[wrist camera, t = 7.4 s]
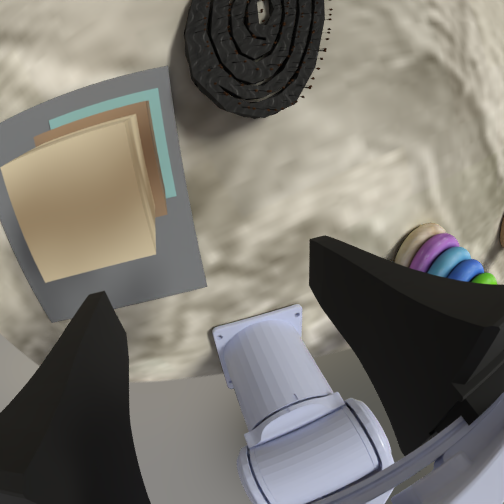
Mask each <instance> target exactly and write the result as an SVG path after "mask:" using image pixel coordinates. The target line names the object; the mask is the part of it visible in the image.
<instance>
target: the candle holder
mask: <svg viewBox="0 0 504 504" xmlns="http://www.w3.org/2000/svg"><path fill="white" fill-rule="evenodd" d="M500 243H501V245H502V247H504V218H503V221H502V226H501V231H500Z"/></svg>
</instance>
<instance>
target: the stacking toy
mask: <svg viewBox="0 0 504 504" xmlns="http://www.w3.org/2000/svg"><path fill="white" fill-rule="evenodd" d="M394 263H397V264H400V265H402V266H405V267H408V268H411V269H415V270H418V271H422V272H425V273H429V274H432V275H436V276H440V277H445V278H450V279H455V280H460V281H466V282H474V283H482V284H496V285H497V282H496V279H495V277H494V276H493V275H492V274H490V273H484V269H483V266H482V265H481V263H480V262H478V261H477V260H474V259H471V256H470V254H469V252H468V251H467V250H466V249H464V248H462V247H459V243H458V241H457V240H456V238H455V237H454V236H452V235H450V234H447V233H446V231H445V230H444V229H443V228H442V227H441V226H440V225H438V224H435V223H428V224H424V225H421V226H419V227H418V228H416V229H415V230H414V231H413V232H411V233H410V234H409V236H408V237H407V238H406V239H405V241H404V242H403V244H402V245H401V247H400V249H399V251H398V253H397V255H396V258H395V261H394Z"/></svg>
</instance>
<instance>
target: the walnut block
mask: <svg viewBox="0 0 504 504" xmlns="http://www.w3.org/2000/svg"><path fill="white" fill-rule="evenodd" d="M133 114H136V116H137V122H138V128H139V133H140V139H141V144H142V149H143V154H144V159H145V164H146V169H147V173H148V178H149V182H150V187H151V191H152V196H153V200H154V204H155V218H156V217H160V216H164V215H168V214H167V205H166V195H165V187H164V182H163V177H162V172H161V167H160V162H159V157H158V152H157V146H156V141H155V135H154V130H153V124H152V118H151V112H150V105H149V100H147V101H143V102H138V103H134V104H130V105H126V106H123V107H119V108H115V109H112V110H108V111H105V112H101V113H98V114H95V115H92V116H89V117H85V118H82V119H79V120H77V121H74V122H71V123H68V124H65V125H62V126H60V127H57V128H55V129H52V130H49V131H47V132H44V133H42V134H39V135H37V136H35V137H34V142H35V146H36V147H38V146H40V145H41V144H43V143H46V142H48V141H51V140H53V139H56V138H59V137H61V136H64V135H67V134H70V133H73V132H76V131H78V130H81V129H84V128H88V127H91V126H94V125H97V124H100V123H104V122H107V121H111V120H114V119H118V118H121V117H125V116H129V115H133Z"/></svg>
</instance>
